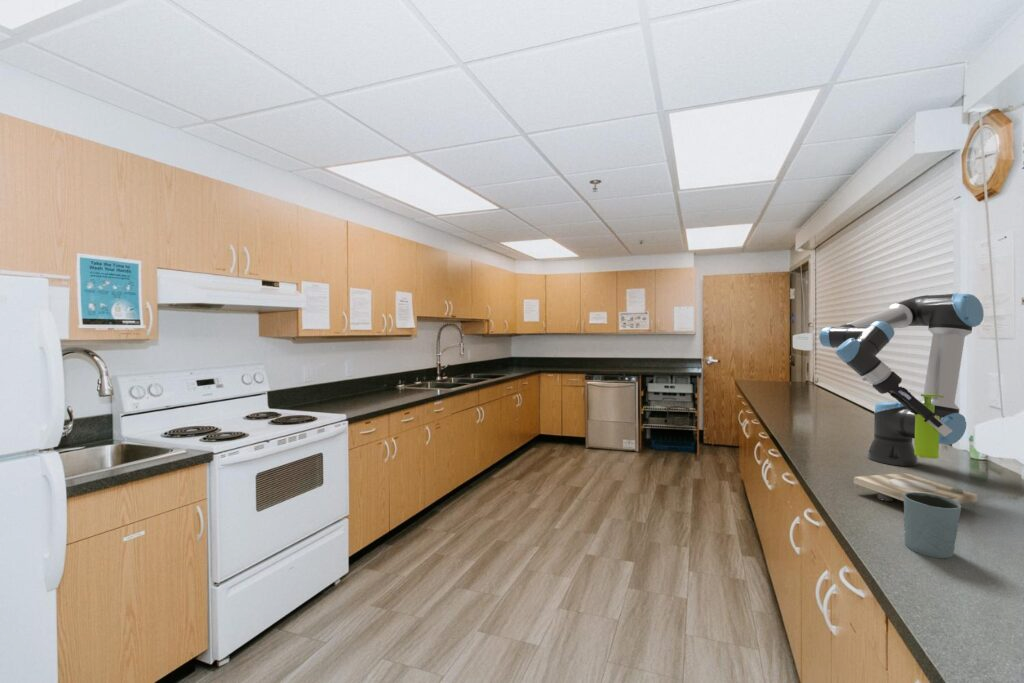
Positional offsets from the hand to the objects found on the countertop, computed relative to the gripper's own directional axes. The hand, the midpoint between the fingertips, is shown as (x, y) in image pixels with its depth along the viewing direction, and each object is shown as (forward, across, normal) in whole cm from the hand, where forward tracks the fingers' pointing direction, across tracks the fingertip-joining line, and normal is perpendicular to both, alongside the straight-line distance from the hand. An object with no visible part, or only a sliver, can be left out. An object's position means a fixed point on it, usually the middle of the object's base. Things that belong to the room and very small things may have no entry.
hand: (943, 431), depth 150 cm
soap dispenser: (+3, 0, -9) cm, 9 cm away
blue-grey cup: (-1, +52, -28) cm, 59 cm away
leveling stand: (+4, +16, -22) cm, 28 cm away
